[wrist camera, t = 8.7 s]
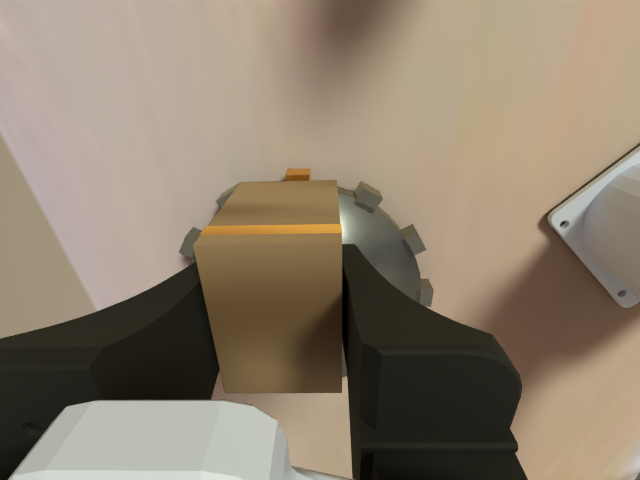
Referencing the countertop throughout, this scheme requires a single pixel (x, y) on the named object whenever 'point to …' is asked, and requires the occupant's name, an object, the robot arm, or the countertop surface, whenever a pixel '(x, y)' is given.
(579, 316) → the countertop surface
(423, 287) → the sprocket
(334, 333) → the link block
